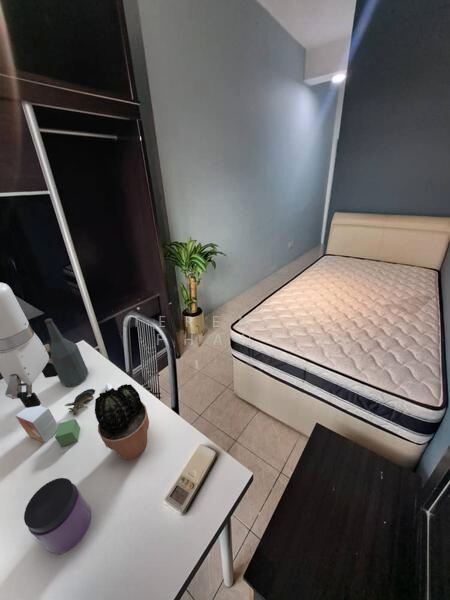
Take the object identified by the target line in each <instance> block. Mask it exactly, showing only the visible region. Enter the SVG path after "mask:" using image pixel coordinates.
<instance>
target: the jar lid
mask: <svg viewBox="0 0 450 600" xmlns="http://www.w3.org/2000/svg"><path fill="white" fill-rule="evenodd" d="M72 483H73V482H72V481H71V480H70V479H68V478H67V477H58V478H55V479H52V480H50V481H48V482H46V483H45V484H44V485H42V486H41V487H40V488H39V489H38V490H37V491H36V492H35V493H33V496H31V498H30V500H29V501H28V503H27V505H26V506H25V510H24V514H23V521H24V524H25V526H26V527H27V528H28V527H29V528H30V529H31V530H32V531H33V532H35V533H45V532H48V531H50V530H52V529H54V528H55V527H57V526H58V525H59V524H61V523H62V522H63V521H64V520H65V519H66V517H67V516H68V515H69V513H70V512H71V510H72V509H73V507H74V504H75V501H76V496H77V492H76V488H75V487H74V485H75V484H74V483H73V484H74V485H73V484H72Z"/></svg>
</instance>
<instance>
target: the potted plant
mask: <svg viewBox="0 0 450 600" xmlns="http://www.w3.org/2000/svg"><path fill="white" fill-rule="evenodd" d="M98 395H99V396H98V397H96V398H95V400H94V401H95V402H94V414H95V418H96V421H97V422H98V424H97V433H98V435H99V437H100V439H101V440H102V442H103V443H104V445H105V447H107V448H108V449H110V450H111V451H114V452H115V453H116V454H117V455H118V456H119V457H120V458H122V459H123V460H133V459H136V458H137V457H139V456H140V455H142V453H144V451H145V450H146V447H147V446H148V441H149V440H148V430H149V426H150V418H149V415H148V411H147V406H146V405H145V404H144V402H142V400H141V396H140V393H139V392H138V391H137V389H136V388H135V387H134V386H133V385H132V384H131V383H129V384H128V383H125V384H121V385H120V386H119V387H117V389H115V388H114V387H113V388H112V389H110V390H108V391H107V390H105V391H104V392H99V394H98Z"/></svg>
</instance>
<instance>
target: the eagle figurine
mask: <svg viewBox="0 0 450 600" xmlns="http://www.w3.org/2000/svg"><path fill="white" fill-rule="evenodd" d="M95 394H96V389H94V388H89V389H85V390H83V391H82V392H80V393H78V395H76V396H75V398H74V400H73V402H68V403H66V404H64V406H65V407H68V412H69V413H73V416H75V415H76V414H77V412H78V408H86V409H89V406H88V405H87V404H85V403H84V402H86V401H88V400H92V399H94V395H95ZM71 406H72V407H71Z"/></svg>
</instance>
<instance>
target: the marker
mask: <svg viewBox="0 0 450 600" xmlns="http://www.w3.org/2000/svg"><path fill="white" fill-rule="evenodd" d="M112 388H114V387H113V386H112V384H111V383H109V382H106V384H105V390H106V391H108V390H110V389H112Z"/></svg>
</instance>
